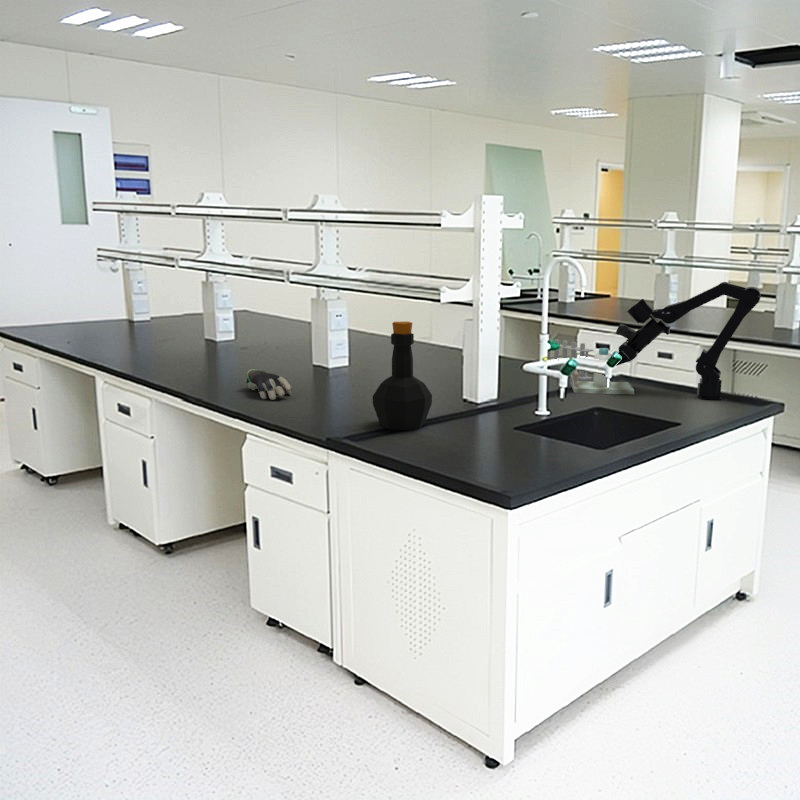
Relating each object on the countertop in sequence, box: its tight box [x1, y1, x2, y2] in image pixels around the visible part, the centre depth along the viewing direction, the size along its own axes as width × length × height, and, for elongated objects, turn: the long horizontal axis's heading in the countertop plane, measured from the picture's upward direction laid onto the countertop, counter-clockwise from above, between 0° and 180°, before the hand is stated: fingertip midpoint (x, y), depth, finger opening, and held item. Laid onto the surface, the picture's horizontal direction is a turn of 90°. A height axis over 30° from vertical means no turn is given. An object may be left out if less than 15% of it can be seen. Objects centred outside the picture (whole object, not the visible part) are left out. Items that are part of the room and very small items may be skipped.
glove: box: [246, 368, 293, 401], centre depth 279 cm, size 12×10×25 cm
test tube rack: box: [537, 337, 594, 381], centre depth 314 cm, size 25×4×13 cm, turn 35°
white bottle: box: [592, 347, 613, 387], centre depth 285 cm, size 6×6×13 cm
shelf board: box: [570, 369, 635, 395], centre depth 286 cm, size 20×14×6 cm
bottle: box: [372, 321, 433, 431], centre depth 233 cm, size 16×16×30 cm
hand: (613, 364), depth 284 cm, fingers open, 9 cm apart
